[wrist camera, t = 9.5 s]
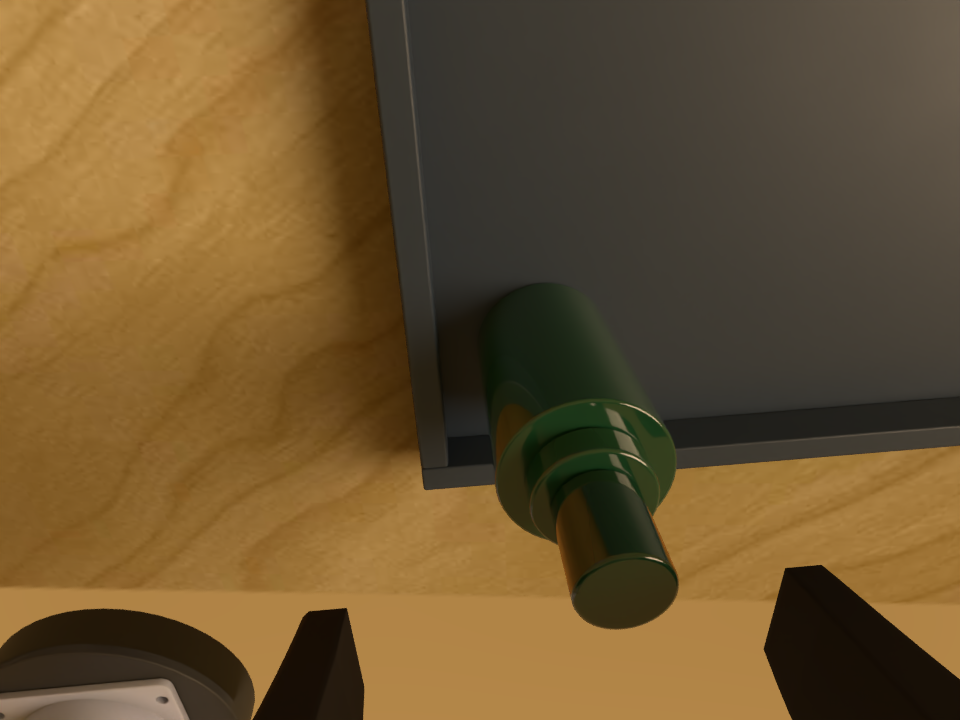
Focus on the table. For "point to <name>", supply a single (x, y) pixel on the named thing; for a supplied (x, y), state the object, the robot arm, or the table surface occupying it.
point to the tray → (685, 210)
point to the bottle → (579, 450)
